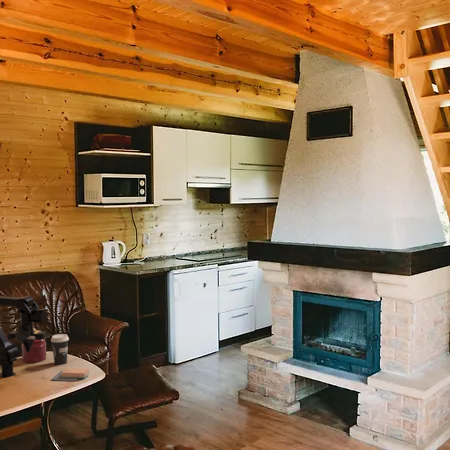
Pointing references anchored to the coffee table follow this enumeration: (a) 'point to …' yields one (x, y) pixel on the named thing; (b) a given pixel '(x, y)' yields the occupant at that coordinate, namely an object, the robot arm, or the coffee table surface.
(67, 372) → the tile
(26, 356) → the canister
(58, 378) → the mat
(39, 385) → the coffee table surface
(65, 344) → the coffee cup
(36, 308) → the robot arm
